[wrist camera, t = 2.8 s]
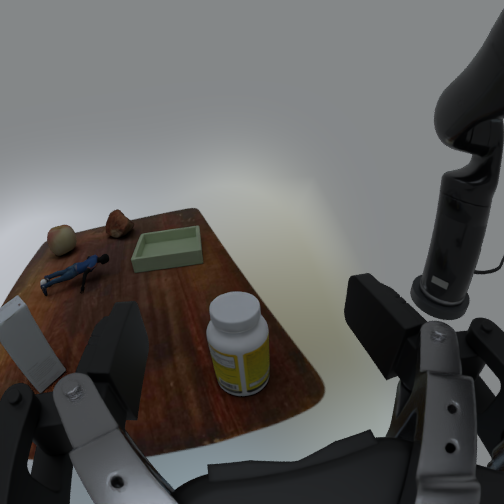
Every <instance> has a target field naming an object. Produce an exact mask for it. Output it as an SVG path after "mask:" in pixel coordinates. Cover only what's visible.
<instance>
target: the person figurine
mask: <svg viewBox="0 0 504 504" xmlns="http://www.w3.org/2000/svg"><path fill="white" fill-rule="evenodd" d="M108 261H109V256H108V255H107V254H103V255H102V256H101V257H99V258H98V257H97V256H96V255H93V256H89V257H88V258H87V260H86V261H84V262H81V263H74V264H73V265H72V266H70V267H68V268H66V269H65V270H62V271H57V272H55V273H53V274H50V275H47V276H45V277H44V278H45V279H43V280H41V289H42V291H43V293H44V295H45V296H47V287H50V286H51V285H53V284H56V283H60V282H63V281H67V280H70V279H72V278H74V277H75V276H77V275H78V274H81V273H83V272H84V274H83V282H82V287H81V290H80V291H81V292H80V293H81V294H82V292H84V284H85V280H86V277H87V274H88V273H89V272H92V270H93V269H94V268H95V267H96V266H97V263H99V262H101V264H105V263H107V262H108ZM57 276H61V277H59V278H55V279H53V280H51V281H50V279H51V278H54V277H57Z"/></svg>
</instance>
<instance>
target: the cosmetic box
mask: <svg viewBox="0 0 504 504" xmlns="http://www.w3.org/2000/svg"><path fill="white" fill-rule="evenodd" d="M0 342H1V343H2V345H3V346H4V348H5V349H6V351H7V352H8V353H9V355H10V356H11V358H12V359H13V360H14V362H15V363H16V364H17V366H18V367H19V368H20V370H21V371H22V372H23V373H24V375H25V376H26V377H27V378H28V380H29V381H30V382H31V383H32V384H33V386H34V387H35V388H36V389H37V390H38V392H39V393H42V392H43V391H44V390H45V389H46V388H47V387H48V386H49V385H50V384H51V383H53V382H54V381H55V380H56V379H57V378H58V377H59V376H60V375H61V374H63V373H64V372H65V371H66V369H65V368H64V366H63V365H62V364H61V362H60V361H59V359H58V358H57V356H56V355H55V353H54V352H53V350H52V348H51V347H50V345H49V344H48V342H47V341H46V339H45V337H44V336H43V334H42V332H41V330H40V329H39V327H38V325H37V324H36V322H35V320H34V318H33V317H32V315H31V313H30V311H29V309H28V307H27V305H26V304H25V303H24V302H23V301H22V300H21V298H20V297H19V296H18V295H17V296H16V297H15V298H13V299H12V300H10V301H9V302H8V303H6V304H5V305H4V306H2V307H1V308H0Z"/></svg>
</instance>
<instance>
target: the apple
mask: <svg viewBox="0 0 504 504" xmlns="http://www.w3.org/2000/svg"><path fill="white" fill-rule="evenodd" d="M47 241H48V245H49V247H50V249H51V251H52V252H53V253H54V254H55V255H57V256H61V255H63V254H65V253H67V252H69V251H71V250H73V249H74V248H75V246H76V235H75V232H74V230H73V229H72V228H71V227H70V226H68V225H61V226H57V227H54V228H52V229H51V230H50V231H49V232H48V236H47Z"/></svg>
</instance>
